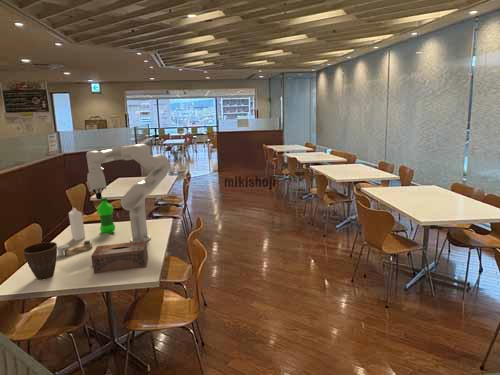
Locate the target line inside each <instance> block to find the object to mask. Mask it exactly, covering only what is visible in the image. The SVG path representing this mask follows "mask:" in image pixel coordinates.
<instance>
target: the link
mask: <svg viewBox="0 0 500 375" xmlns="http://www.w3.org/2000/svg"><path fill="white" fill-rule="evenodd" d="M92 249H93V242H92V241H90V240H85V241H83V243H82V244H79V245H76V246H73V247H70V248H68V249H64V250H63V252H64V256H67V257H69V256H72V255H75V254H78V253H82V252H83V251H88V250H92Z"/></svg>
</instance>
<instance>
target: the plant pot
mask: <svg viewBox="0 0 500 375" xmlns="http://www.w3.org/2000/svg"><path fill="white" fill-rule="evenodd" d="M57 247H58V244H57V243H56V242H55V241H47V242H45V241H43V242H39V243H35V244H32V245H29V246H27V247H25V248H23V250H22V253H23V255H24V257H25V261H26V263H27V266H28V267H29V269H30V271H31V272H32V273H33V275H34V277H35V278H36V279H37V280H39V281H45V280H48V279H51V278H53V276H54V275H55V271H56V266H57V260H58V259H57V258H58V249H57ZM44 279H45V280H44Z"/></svg>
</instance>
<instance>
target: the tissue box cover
mask: <svg viewBox="0 0 500 375" xmlns="http://www.w3.org/2000/svg"><path fill="white" fill-rule="evenodd" d="M147 245H148V244H147V241H139V242H123V243H114V244H105V245H104V244H103V245H98V246H96V247H95V249H94V251H93V252H92V254H91V256H90V257H91V264H92V271H93V274H94V275H96V274H104V273H112V272H119V271H121V272H122V271H128V270H136V269H137V270H138V269H144V268H145V269H146V268H147V263H148V259H149V255H148V254H149V253H148V246H147Z"/></svg>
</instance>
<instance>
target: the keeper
mask: <svg viewBox="0 0 500 375" xmlns="http://www.w3.org/2000/svg"><path fill="white" fill-rule="evenodd" d="M69 248H71V246H70V245H69V244H68V243H67V244H64V245H60V246H57V256H59V257H60V258H64V257H65V253H64V250H66V249H69Z"/></svg>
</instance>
